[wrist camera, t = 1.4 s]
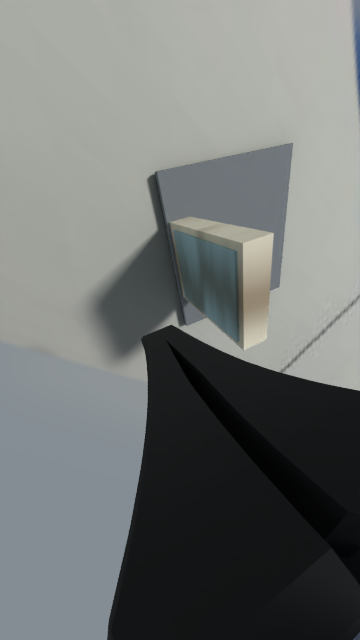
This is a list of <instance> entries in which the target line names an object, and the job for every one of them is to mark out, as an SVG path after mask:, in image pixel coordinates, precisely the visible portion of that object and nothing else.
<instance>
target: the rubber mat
mask: <svg viewBox="0 0 360 640" xmlns="http://www.w3.org/2000/svg"><path fill="white" fill-rule="evenodd" d="M292 147H293V143H290V144H285V145H280V146H276V147H271V148H266V149H261V150H257V151H252V152H247V153H242V154H238V155H233V156H228V157H223V158H219V159H214V160H209V161H204V162H200V163H195V164H190V165H185V166H181V167H176V168H171V169H166V170H162V171H157V172H155V175H156V180H157V185H158V190H159V195H160V200H161V205H162V210H163V216H164V221H165V226H166V231H167V236H168V241H169V246H170V251H171V256H172V261H173V266H174V271H175V276H176V281H177V286H178V291H179V296H180V301H181V306H182V311H183V316H184V321H185V324H186V325H190V324H192V323H195V322H197V321H199V320H202V319H204V318H206V316H204V315H203V314H202V313H201V312H200V311H199V310H198V309H197V308H195V307H194V306H193V305H192V304H191V303H190V302H189V301H188V300H186V299H185V298H184V297H183V291H182V286H181V281H180V275H179V270H178V265H177V259H176V254H175V249H174V243H173V238H172V233H171V227H170V222H172V221H176V220H179V219H183V218H187V217H194V218H200V219H205V220H210V221H215V222H220V223H225V224H231V225H236V226H241V227H246V228H251V229H256V230H261V231H267V232H272V233H274V236H273V251H272V265H271V280H270V290H273V289H275V288H278V287H279V284H280V274H281V263H282V253H283V242H284V232H285V221H286V210H287V200H288V189H289V179H290V168H291V158H292Z"/></svg>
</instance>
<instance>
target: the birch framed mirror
mask: <svg viewBox="0 0 360 640" xmlns="http://www.w3.org/2000/svg"><path fill="white" fill-rule="evenodd" d="M170 227H171V233H172V238H173V243H174V249H175V254H176V259H177V265H178V270H179V275H180V281H181V286H182V291H183V297H184V298H185V299H186V300H188V301H189V302H190V303H191V304H192V305H193V306H194V307H195V308H197V309H198V310H199V311H200V312H201V313H202V314H203V315H204V316H206V317H207V318H208V319H209V320H210V321H211V322H212V323H213V324H215V325H216V326H217V327H218V328H219V329H220V330H221V331H222V332H224V333H225V334H226V335H227V336H228V337H229V338H230V339H231V340H233V341H234V342H235V343H236V344H237V345H238V346H239V347H240V348H242V349H243V350H246V349H248V348H250V347H252V346H254V345H256V344H258V343H260V342H262V341H264V340H266V339H267V324H268V309H269V295H270V280H271V265H272V251H273V236H274V233H272V232H267V231H261V230H256V229H251V228H246V227H241V226H236V225H231V224H225V223H220V222H215V221H210V220H205V219H200V218H194V217H187V218H183V219H179V220H176V221H172V222H170Z"/></svg>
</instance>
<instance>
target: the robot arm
mask: <svg viewBox="0 0 360 640" xmlns="http://www.w3.org/2000/svg"><path fill="white" fill-rule="evenodd" d="M141 341H142V344H143V347H144V350H145V354H146V361H147V373H148V408H147V422H146V433H145V442H144V450H143V457H142V464H141V470H140V476H139V482H138V488H137V493H136V498H135V504H134V509H133V515H132V520H131V525H130V530H129V535H128V540H127V544H126V548H125V553H124V557H123V561H122V565H121V570H120V574H119V578H118V583H117V587H116V592H115V596H114V600H113V605H112V609H111V614H110V618H109V625H108V638H107V640H360V391H358V390H352V389H347V388H342V387H337V386H332V385H327V384H323V383H318V382H314V381H310V380H306V379H302V378H298V377H294V376H291V375H287V374H283V373H279V372H276V371H273V370H269V369H266V368H263V367H260V366H258V365H255V364H252V363H249V362H246V361H243V360H241V359H238V358H236V357H234V356H231V355H229V354H227V353H224V352H222V351H220V350H218V349H216V348H214V347H212V346H210V345H208V344H206V343H204V342H202V341H200V340H198V339H196V338H194V337H192V336H190V335H189V334H187V333H185V332H183V331H182V330H180V329H178V328H177V327H175V326H173V325H170V326H167V327H165V328H163V329H160V330H158V331H155V332H153V333H150V334H148V335H146V336H143V337H142V339H141Z"/></svg>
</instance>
